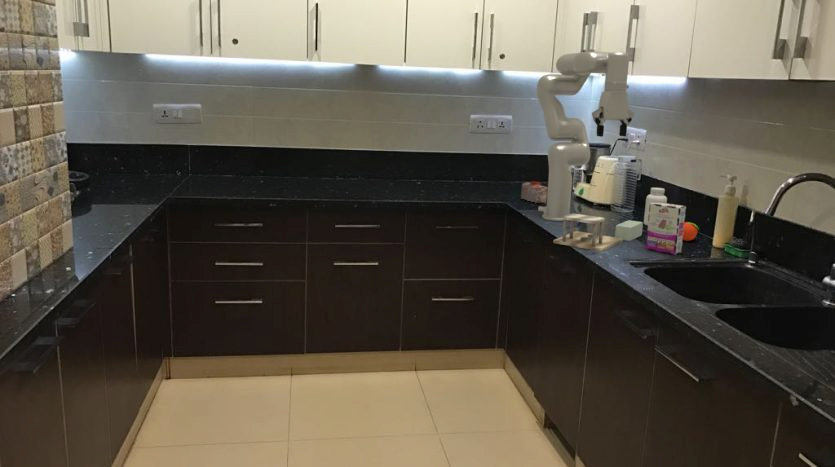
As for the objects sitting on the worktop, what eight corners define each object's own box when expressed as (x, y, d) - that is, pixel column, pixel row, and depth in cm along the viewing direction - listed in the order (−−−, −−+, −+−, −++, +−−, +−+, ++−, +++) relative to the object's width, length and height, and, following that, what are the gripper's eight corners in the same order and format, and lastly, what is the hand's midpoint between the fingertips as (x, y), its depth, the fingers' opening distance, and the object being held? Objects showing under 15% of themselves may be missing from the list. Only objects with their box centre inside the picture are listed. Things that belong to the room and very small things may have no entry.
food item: (549, 203, 326) (550, 182, 324) (535, 205, 322) (537, 183, 320) (531, 199, 337) (532, 178, 335) (517, 200, 334) (519, 179, 331)
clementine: (702, 241, 257) (704, 222, 256) (693, 244, 253) (695, 225, 251) (681, 237, 263) (683, 219, 261) (672, 240, 258) (674, 221, 257)
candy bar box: (681, 253, 239) (687, 205, 236) (675, 255, 236) (680, 207, 232) (651, 246, 247) (656, 201, 243) (644, 249, 244) (649, 202, 240)
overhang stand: (553, 242, 249) (555, 215, 247) (576, 233, 265) (578, 207, 262) (601, 251, 238) (604, 222, 236) (622, 241, 254) (625, 214, 252)
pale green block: (614, 238, 258) (615, 225, 257) (627, 232, 268) (628, 220, 267) (629, 241, 255) (630, 227, 254) (641, 235, 265) (643, 222, 264)
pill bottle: (667, 227, 281) (671, 190, 277) (647, 226, 280) (650, 189, 277) (660, 223, 288) (663, 187, 285) (640, 222, 288) (644, 186, 285)
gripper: (629, 88, 256) (625, 135, 260) (588, 87, 250) (584, 135, 254) (642, 88, 249) (637, 137, 253) (600, 87, 243) (596, 137, 247)
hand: (611, 136), depth 254 cm, fingers open, 9 cm apart
